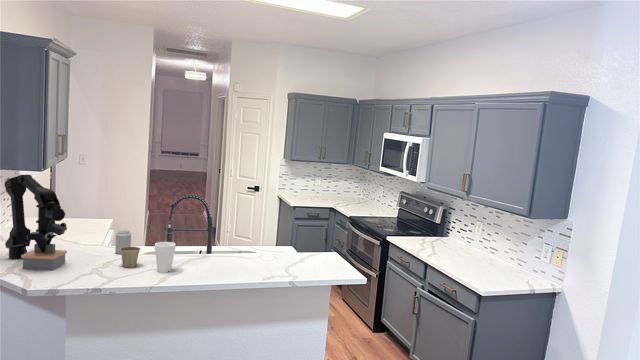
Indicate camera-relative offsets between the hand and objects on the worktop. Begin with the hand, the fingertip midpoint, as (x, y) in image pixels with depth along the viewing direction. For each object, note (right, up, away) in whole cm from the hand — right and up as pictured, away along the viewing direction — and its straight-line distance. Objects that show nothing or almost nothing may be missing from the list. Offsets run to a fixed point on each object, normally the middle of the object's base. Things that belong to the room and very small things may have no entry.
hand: (44, 251), depth 208 cm
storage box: (0, -8, +1) cm, 8 cm away
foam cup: (+52, -11, +9) cm, 54 cm away
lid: (0, -2, 0) cm, 2 cm away
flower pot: (+34, -9, +13) cm, 37 cm away
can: (+20, -7, +36) cm, 42 cm away
